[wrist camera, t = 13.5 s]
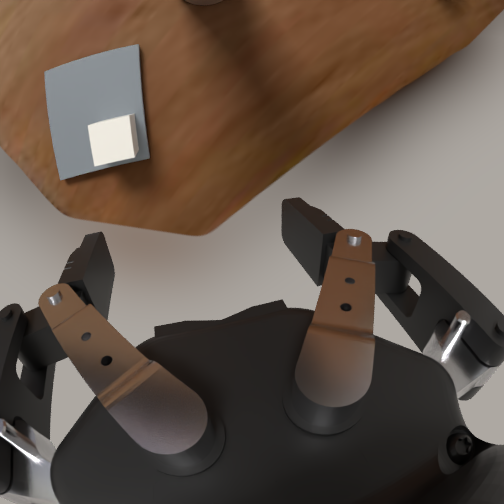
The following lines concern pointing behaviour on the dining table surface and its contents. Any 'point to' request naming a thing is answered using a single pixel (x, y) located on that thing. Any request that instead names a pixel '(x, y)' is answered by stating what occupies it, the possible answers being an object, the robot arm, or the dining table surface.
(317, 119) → the dining table surface
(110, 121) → the cream rounded cube
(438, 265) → the robot arm
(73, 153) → the base plate
